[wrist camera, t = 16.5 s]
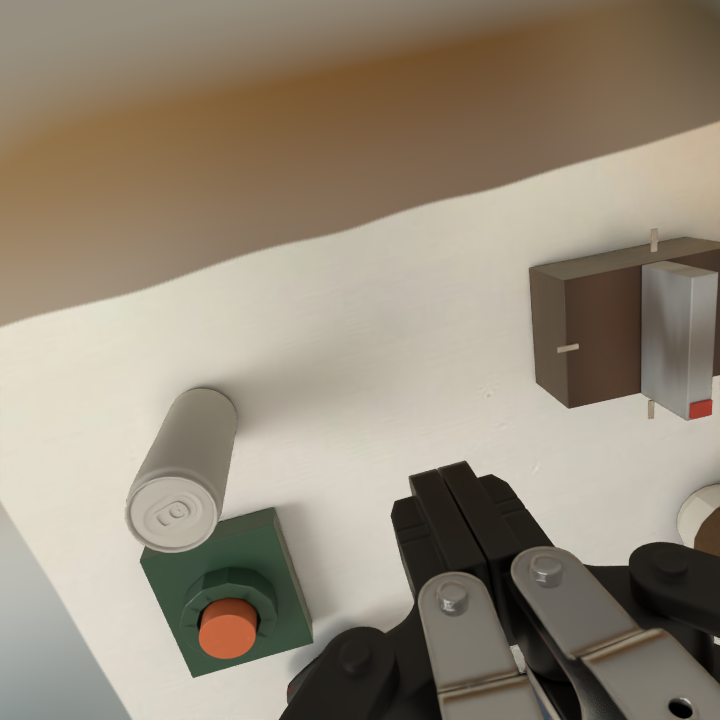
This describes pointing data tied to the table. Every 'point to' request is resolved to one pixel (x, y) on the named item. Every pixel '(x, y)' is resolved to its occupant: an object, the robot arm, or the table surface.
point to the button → (228, 628)
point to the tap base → (603, 319)
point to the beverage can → (184, 474)
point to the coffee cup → (701, 520)
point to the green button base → (232, 588)
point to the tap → (678, 337)
